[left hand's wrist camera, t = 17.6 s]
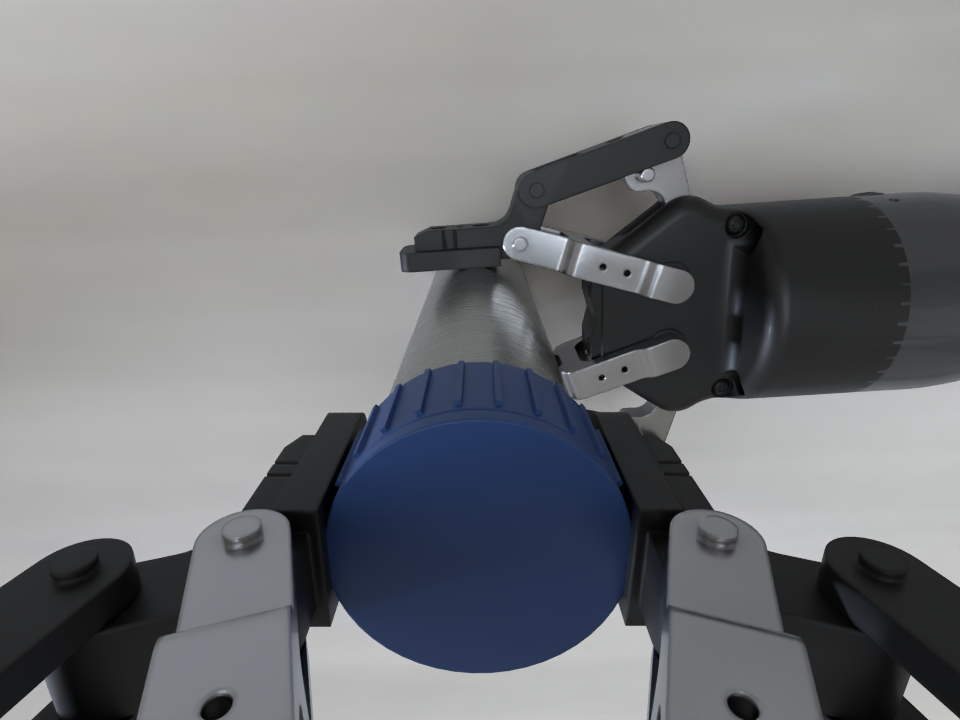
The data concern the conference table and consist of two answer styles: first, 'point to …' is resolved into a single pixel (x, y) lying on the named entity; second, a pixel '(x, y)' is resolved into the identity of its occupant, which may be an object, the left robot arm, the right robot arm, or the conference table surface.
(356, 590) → the lid
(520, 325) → the metal bottle
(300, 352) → the conference table surface
